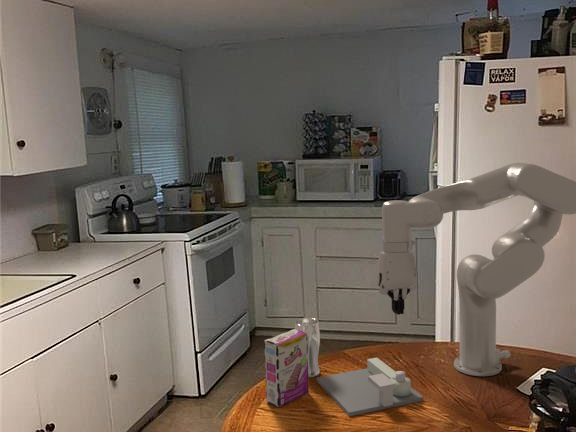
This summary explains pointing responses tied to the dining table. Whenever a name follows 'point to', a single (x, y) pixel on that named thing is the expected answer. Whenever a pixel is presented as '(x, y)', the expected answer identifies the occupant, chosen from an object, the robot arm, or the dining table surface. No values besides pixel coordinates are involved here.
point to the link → (391, 376)
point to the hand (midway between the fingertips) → (398, 312)
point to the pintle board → (364, 392)
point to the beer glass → (311, 342)
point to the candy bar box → (286, 367)
